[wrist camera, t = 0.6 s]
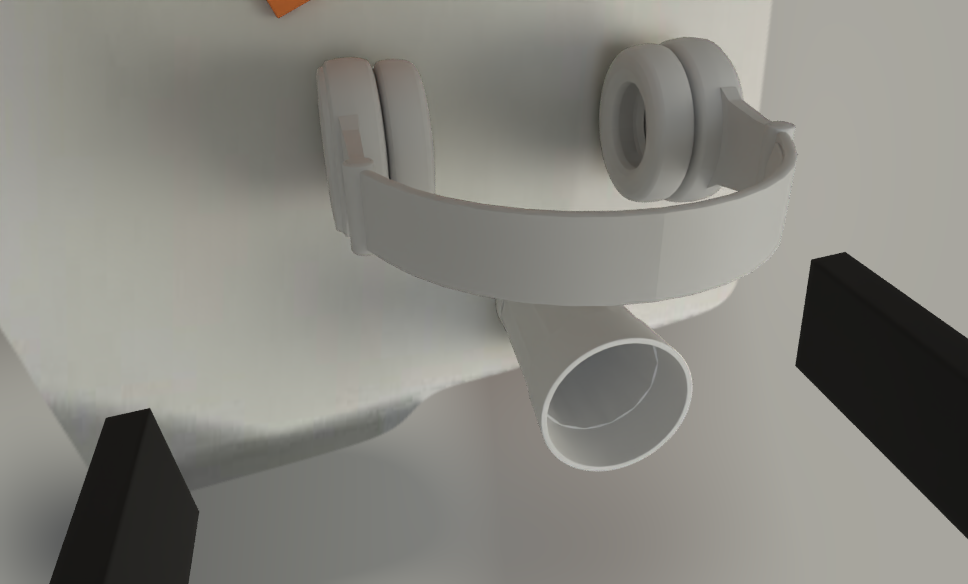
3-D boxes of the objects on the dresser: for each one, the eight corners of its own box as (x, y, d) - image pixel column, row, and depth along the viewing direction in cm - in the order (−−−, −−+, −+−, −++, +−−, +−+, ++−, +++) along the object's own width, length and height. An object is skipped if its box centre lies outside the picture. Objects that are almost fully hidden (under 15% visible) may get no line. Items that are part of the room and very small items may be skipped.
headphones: (679, 25, 40) (959, 104, 23) (664, 171, 44) (894, 329, 27) (310, 45, 36) (328, 159, 19) (329, 204, 40) (359, 413, 23)
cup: (498, 231, 43) (565, 332, 33) (618, 246, 45) (715, 344, 35) (471, 346, 46) (523, 470, 36) (583, 354, 49) (663, 472, 38)
